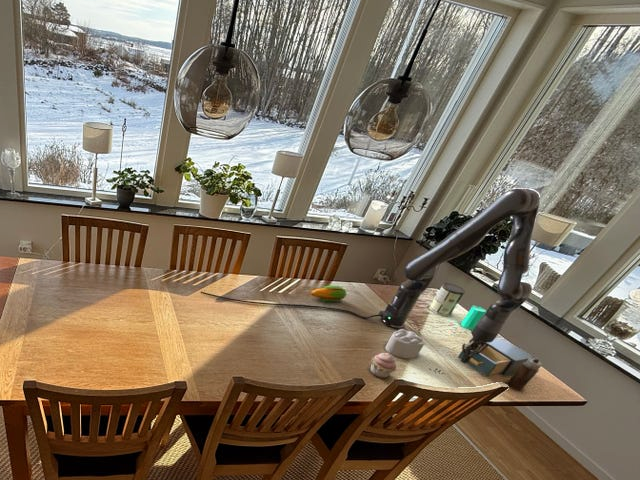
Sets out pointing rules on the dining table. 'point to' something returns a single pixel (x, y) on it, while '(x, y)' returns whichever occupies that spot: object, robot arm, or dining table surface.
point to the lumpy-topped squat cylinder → (405, 344)
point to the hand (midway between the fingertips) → (463, 362)
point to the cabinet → (510, 355)
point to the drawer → (488, 361)
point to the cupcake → (383, 365)
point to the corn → (329, 293)
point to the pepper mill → (524, 374)
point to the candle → (473, 317)
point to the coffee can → (447, 299)
